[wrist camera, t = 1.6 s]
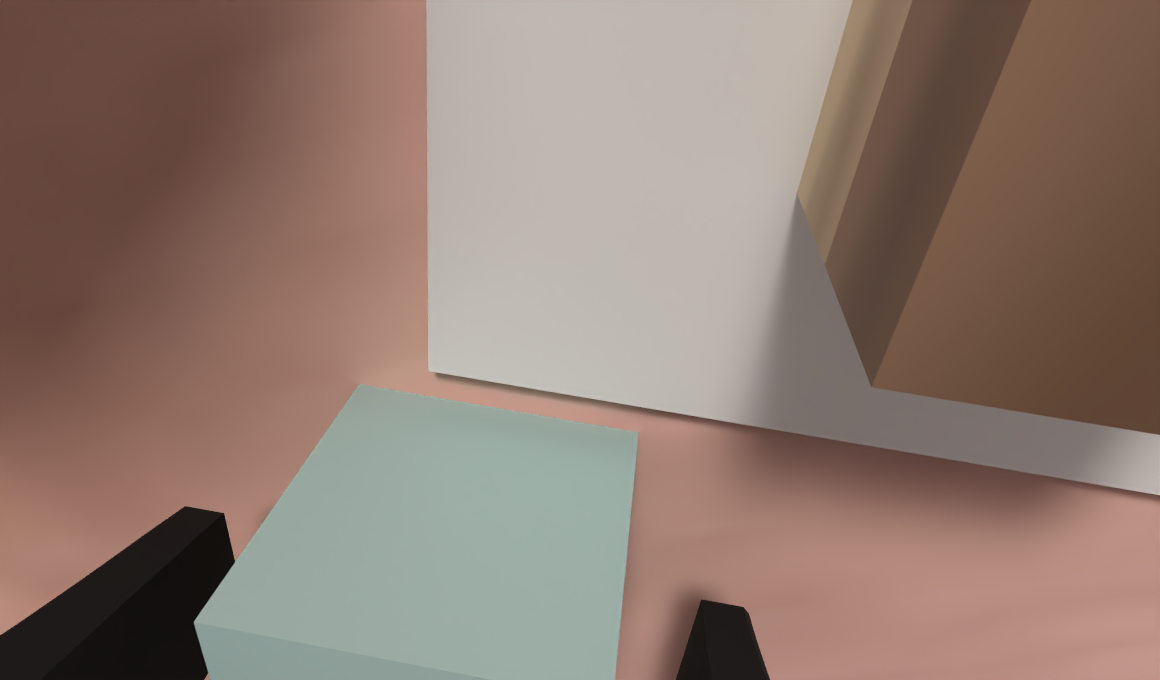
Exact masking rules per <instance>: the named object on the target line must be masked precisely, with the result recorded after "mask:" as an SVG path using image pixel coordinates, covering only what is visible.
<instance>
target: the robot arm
mask: <svg viewBox="0 0 1160 680" xmlns="http://www.w3.org/2000/svg"><path fill="white" fill-rule="evenodd" d="M234 563H235V560H234V555H233V551H232V547H231V542H230V538H229V533H228V529H227V525H226V520H225V516H224V513H220V512H214V511H209V510H203V509H197V508H192V507H186V506H185V507H184V508H182V509H181V510H179V511H178V512H176V513H175V514H173V515H172V516H171V517H169V518H168V519H166V520H165V521H163V522H162V523H160V524H159V525H158V526H156V527H155V528H153V529H152V530H151V531H149V532H148V533H146V534H145V535H144V536H142V537H141V538H139V539H138V540H137V541H135V542H134V543H132V544H131V545H130V546H128V547H127V548H125V549H124V550H123V551H121V552H120V553H118V554H117V555H116V556H114V557H113V558H111V559H110V560H109V561H107V562H106V563H104V564H103V565H102V566H100V567H99V568H97V569H96V570H94V571H93V572H92V573H90V574H89V575H87V576H86V577H85V578H83V579H82V580H80V581H79V582H78V583H76V584H75V585H73V586H72V587H70V588H69V589H67V590H66V591H65V592H63V593H62V594H60V595H59V596H57V597H56V598H54V599H53V600H52V601H50V602H49V603H47V604H46V605H44V606H43V607H41V608H40V609H39V610H37V611H36V612H34V613H33V614H31V615H30V616H28V617H27V618H25V619H24V620H23V621H21V622H20V623H18V624H17V625H15V626H14V627H12V628H11V629H9V630H8V631H6V632H5V633H3V634H2V635H0V680H204V679H205V677H206V676H207V674H208V670H207V666H206V663H205V660H204V656H203V653H202V649H201V646H200V642H199V639H198V635H197V632H196V629H195V625H194V621H195V619H196V618H197V617H198V615H199V614H200V612H201V611H202V609H203V608H204V606H205V605H206V604H207V602H208V601H209V599H210V598H211V596H212V595H213V594H214V592H215V591H216V589H217V588H218V586H219V585H220V583H221V582H222V581H223V579H224V578H225V576H226V575H227V573H228V572H229V570H230V569H231V568H232V566H233V565H234ZM676 680H770V678H769V676H768V673H767V670H766V667H765V664H764V661H763V658H762V655H761V652H760V649H759V646H758V643H757V640H756V636H755V633H754V630H753V627H752V623H751V620H750V616H749V613H748V612H747V611H746V610H745V608H744V607H740V606H735V605H729V604H723V603H718V602H712V601H707V600H701V602H700V605H699V608H698V612H697V615H696V618H695V621H694V624H693V627H692V630H691V634H690V637H689V640H688V643H687V646H686V649H685V653H684V656H683V659H682V662H681V665H680V668H679V671H678V675H677V678H676Z"/></svg>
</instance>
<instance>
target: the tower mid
mask: <svg viewBox="0 0 1160 680" xmlns="http://www.w3.org/2000/svg"><path fill="white" fill-rule="evenodd" d="M825 268H826V270H827V273H828V275H829V278H830V281H831V283H832V286H833V289H834V291H835V294H836V296H837V299H838V302H839V304H840V307H841V309H842V312H843V315H844V317H845V320H846V323H847V325H848V328H849V330H850V333H851V336H852V338H853V341H854V343H855V346H856V349H857V351H858V354H859V356H860V359H861V362H862V364H863V367H864V370H865V372H866V375H867V377H868V380H869V383H870V385H871V387H873V388H879V389H885V390H891V391H897V392H903V393H909V394H915V395H921V396H927V397H933V398H939V399H945V400H951V401H957V402H963V403H969V404H975V405H981V406H987V407H994V408H1000V409H1006V410H1012V411H1018V412H1024V413H1030V414H1036V415H1042V416H1048V417H1054V418H1060V419H1066V420H1072V421H1078V422H1084V423H1090V424H1096V425H1102V426H1108V427H1114V428H1120V429H1126V430H1133V431H1139V432H1145V433H1151V434H1157V435H1160V0H912V3H911V6H910V9H909V12H908V15H907V18H906V21H905V24H904V27H903V30H902V33H901V36H900V39H899V42H898V45H897V48H896V51H895V54H894V57H893V60H892V63H891V66H890V69H889V72H888V75H887V78H886V81H885V85H884V88H883V91H882V94H881V97H880V100H879V103H878V106H877V109H876V112H875V115H874V118H873V121H872V124H871V127H870V130H869V133H868V136H867V139H866V142H865V145H864V148H863V151H862V154H861V157H860V160H859V163H858V166H857V169H856V172H855V175H854V178H853V181H852V184H851V187H850V190H849V193H848V196H847V199H846V202H845V205H844V208H843V211H842V214H841V217H840V220H839V223H838V226H837V229H836V233H835V236H834V239H833V242H832V245H831V248H830V251H829V254H828V257H827V260H826V263H825Z"/></svg>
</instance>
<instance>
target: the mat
mask: <svg viewBox="0 0 1160 680" xmlns="http://www.w3.org/2000/svg"><path fill="white" fill-rule="evenodd" d="M852 1H853V0H426V6H427V202H428V371H431V372H437V373H443V374H449V375H455V376H461V377H467V378H473V379H478V380H484V381H490V382H496V383H502V384H508V385H514V386H520V387H526V388H531V389H537V390H543V391H549V392H555V393H561V394H567V395H573V396H579V397H584V398H590V399H596V400H602V401H608V402H614V403H620V404H626V405H632V406H637V407H643V408H649V409H655V410H661V411H667V412H673V413H679V414H685V415H690V416H696V417H702V418H708V419H714V420H720V421H726V422H732V423H738V424H743V425H749V426H755V427H761V428H767V429H773V430H779V431H785V432H791V433H796V434H802V435H808V436H814V437H820V438H826V439H832V440H838V441H844V442H849V443H855V444H861V445H867V446H873V447H879V448H885V449H891V450H897V451H902V452H908V453H914V454H920V455H926V456H932V457H938V458H944V459H950V460H955V461H961V462H967V463H973V464H979V465H985V466H991V467H997V468H1003V469H1008V470H1014V471H1020V472H1026V473H1032V474H1038V475H1044V476H1050V477H1056V478H1061V479H1067V480H1073V481H1079V482H1085V483H1091V484H1097V485H1103V486H1109V487H1114V488H1120V489H1126V490H1132V491H1138V492H1144V493H1150V494H1156V495H1160V435H1157V434H1151V433H1145V432H1139V431H1133V430H1126V429H1120V428H1114V427H1108V426H1102V425H1096V424H1090V423H1084V422H1078V421H1072V420H1066V419H1060V418H1054V417H1048V416H1042V415H1036V414H1030V413H1024V412H1018V411H1012V410H1006V409H1000V408H994V407H987V406H981V405H975V404H969V403H963V402H957V401H951V400H945V399H939V398H933V397H927V396H921V395H915V394H909V393H903V392H897V391H891V390H885V389H879V388H873V387H871V385H870V383H869V380H868V377H867V375H866V372H865V370H864V367H863V364H862V362H861V359H860V356H859V354H858V351H857V349H856V346H855V343H854V341H853V338H852V336H851V333H850V330H849V328H848V325H847V323H846V320H845V317H844V315H843V312H842V309H841V307H840V304H839V302H838V299H837V296H836V294H835V291H834V289H833V286H832V283H831V281H830V278H829V275H828V273H827V270H826V268H825V265H824V262H823V260H822V257H821V255H820V252H819V249H818V247H817V244H816V241H815V239H814V236H813V234H812V231H811V228H810V226H809V223H808V221H807V218H806V215H805V213H804V210H803V207H802V205H801V202H800V200H799V197H798V194H797V191H798V188H799V184H800V181H801V177H802V174H803V170H804V167H805V163H806V160H807V157H808V153H809V150H810V146H811V143H812V139H813V136H814V132H815V129H816V125H817V122H818V119H819V115H820V112H821V108H822V105H823V101H824V98H825V94H826V91H827V88H828V84H829V81H830V77H831V74H832V70H833V67H834V63H835V60H836V56H837V53H838V50H839V46H840V43H841V39H842V36H843V32H844V29H845V25H846V22H847V19H848V15H849V12H850V8H851V5H852Z"/></svg>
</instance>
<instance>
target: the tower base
mask: <svg viewBox="0 0 1160 680" xmlns="http://www.w3.org/2000/svg"><path fill="white" fill-rule="evenodd" d="M911 3H912V0H853V1H852V5H851V8H850V12H849V15H848V19H847V22H846V25H845V29H844V32H843V36H842V39H841V43H840V46H839V50H838V53H837V56H836V60H835V63H834V67H833V70H832V74H831V77H830V81H829V84H828V88H827V91H826V94H825V98H824V101H823V105H822V108H821V112H820V115H819V119H818V122H817V125H816V129H815V132H814V136H813V139H812V143H811V146H810V150H809V153H808V157H807V160H806V163H805V167H804V170H803V174H802V177H801V181H800V184H799V188H798V191H797V194H798V197H799V200H800V202H801V205H802V207H803V210H804V213H805V215H806V218H807V221H808V223H809V226H810V228H811V231H812V234H813V236H814V239H815V241H816V244H817V247H818V249H819V252H820V255H821V257H822V260H823V262H824V265H825V263H826V260H827V257H828V254H829V251H830V248H831V245H832V242H833V239H834V236H835V233H836V229H837V226H838V223H839V220H840V217H841V214H842V211H843V208H844V205H845V202H846V199H847V196H848V193H849V190H850V187H851V184H852V181H853V178H854V175H855V172H856V169H857V166H858V163H859V160H860V157H861V154H862V151H863V148H864V145H865V142H866V139H867V136H868V133H869V130H870V127H871V124H872V121H873V118H874V115H875V112H876V109H877V106H878V103H879V100H880V97H881V94H882V91H883V88H884V85H885V81H886V78H887V75H888V72H889V69H890V66H891V63H892V60H893V57H894V54H895V51H896V48H897V45H898V42H899V39H900V36H901V33H902V30H903V27H904V24H905V21H906V18H907V15H908V12H909V9H910V6H911Z"/></svg>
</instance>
